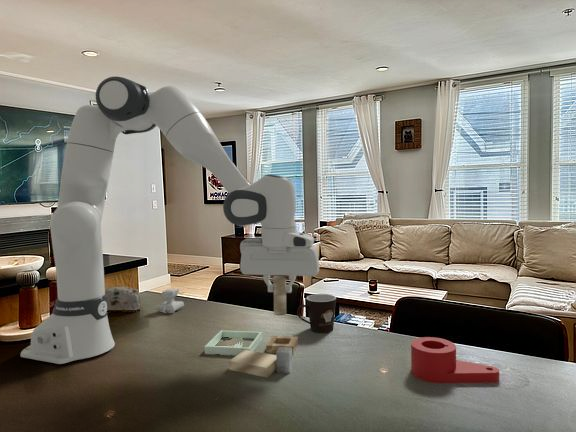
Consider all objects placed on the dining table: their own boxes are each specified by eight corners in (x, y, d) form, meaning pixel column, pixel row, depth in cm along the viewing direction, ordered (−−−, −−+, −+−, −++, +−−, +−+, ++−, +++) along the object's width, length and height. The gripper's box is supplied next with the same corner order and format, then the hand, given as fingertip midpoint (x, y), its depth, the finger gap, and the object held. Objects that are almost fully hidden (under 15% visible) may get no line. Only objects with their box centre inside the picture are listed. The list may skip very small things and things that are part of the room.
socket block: (266, 355, 106) (266, 345, 106) (272, 344, 113) (272, 335, 113) (293, 356, 105) (293, 346, 105) (298, 345, 112) (298, 336, 111)
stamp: (169, 309, 149) (168, 286, 149) (186, 310, 147) (185, 287, 147) (155, 317, 141) (153, 292, 140) (172, 318, 139) (171, 293, 138)
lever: (411, 381, 90) (411, 351, 90) (411, 363, 99) (411, 335, 99) (503, 390, 85) (503, 358, 85) (494, 370, 94) (495, 341, 94)
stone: (98, 312, 144) (103, 284, 144) (109, 308, 150) (114, 281, 149) (131, 322, 141) (137, 293, 141) (141, 318, 147) (146, 290, 146)
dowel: (272, 315, 107) (271, 276, 106) (275, 311, 110) (274, 273, 109) (285, 315, 106) (284, 276, 105) (287, 312, 109) (286, 274, 109)
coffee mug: (334, 326, 127) (333, 293, 126) (338, 336, 118) (338, 301, 117) (296, 327, 126) (295, 294, 126) (297, 337, 118) (296, 302, 117)
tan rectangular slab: (229, 373, 97) (228, 360, 97) (245, 361, 103) (245, 349, 103) (267, 381, 93) (266, 367, 93) (281, 368, 99) (281, 356, 99)
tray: (205, 355, 107) (204, 346, 106) (221, 339, 118) (221, 330, 118) (250, 358, 104) (250, 348, 104) (262, 340, 116) (262, 331, 116)
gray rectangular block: (277, 373, 95) (276, 352, 95) (279, 367, 98) (279, 347, 98) (289, 374, 95) (289, 352, 94) (292, 368, 98) (291, 347, 97)
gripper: (236, 239, 106) (237, 293, 107) (316, 240, 102) (317, 296, 102) (243, 236, 112) (244, 287, 113) (319, 237, 108) (320, 290, 109)
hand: (279, 292), depth 108 cm, fingers closed on dowel, 3 cm apart
